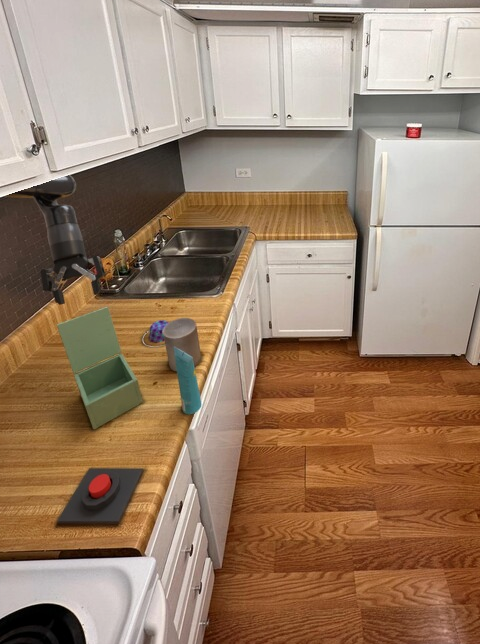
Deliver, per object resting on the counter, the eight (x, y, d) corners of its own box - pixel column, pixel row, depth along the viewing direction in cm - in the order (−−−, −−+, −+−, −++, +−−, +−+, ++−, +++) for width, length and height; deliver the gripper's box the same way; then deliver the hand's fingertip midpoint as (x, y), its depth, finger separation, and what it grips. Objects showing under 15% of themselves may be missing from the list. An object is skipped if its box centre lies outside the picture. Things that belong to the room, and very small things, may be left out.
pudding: (183, 339, 116) (181, 327, 114) (146, 353, 109) (143, 340, 107) (175, 322, 125) (173, 310, 123) (140, 333, 119) (137, 321, 117)
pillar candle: (198, 348, 112) (193, 310, 106) (204, 367, 104) (198, 328, 98) (167, 357, 108) (160, 319, 102) (170, 378, 100) (162, 338, 94)
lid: (108, 307, 93) (107, 306, 94) (56, 325, 86) (56, 324, 86) (121, 352, 97) (120, 351, 97) (73, 373, 89) (73, 372, 90)
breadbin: (143, 404, 91) (137, 379, 88) (94, 431, 84) (85, 406, 80) (127, 376, 100) (121, 352, 97) (82, 398, 93) (73, 374, 90)
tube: (208, 406, 91) (200, 351, 84) (195, 421, 87) (185, 363, 80) (189, 396, 94) (179, 341, 87) (175, 409, 90) (164, 353, 83)
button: (86, 498, 67) (84, 492, 66) (97, 479, 70) (95, 474, 70) (104, 498, 67) (102, 492, 66) (114, 479, 70) (112, 474, 70)
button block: (58, 526, 65) (53, 515, 64) (91, 473, 74) (87, 462, 73) (119, 526, 65) (116, 515, 64) (144, 473, 74) (141, 462, 73)
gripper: (28, 248, 86) (42, 308, 85) (89, 233, 90) (103, 291, 89) (44, 251, 93) (57, 306, 92) (100, 237, 97) (113, 291, 96)
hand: (79, 299), depth 90 cm, fingers open, 8 cm apart
